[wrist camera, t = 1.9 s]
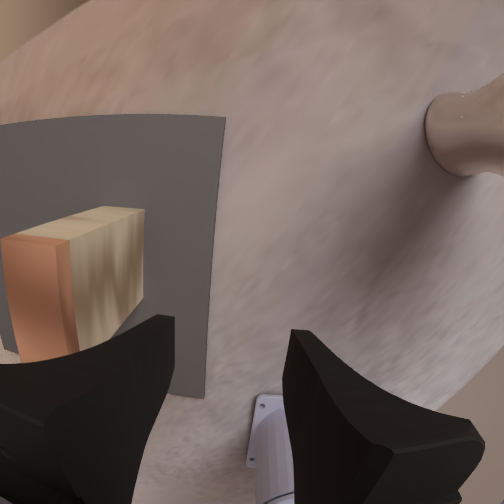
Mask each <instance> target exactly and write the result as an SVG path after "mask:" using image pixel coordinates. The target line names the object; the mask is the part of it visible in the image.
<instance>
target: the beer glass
mask: <svg viewBox="0 0 504 504" xmlns="http://www.w3.org/2000/svg"><path fill="white" fill-rule="evenodd" d="M425 132H426V138H427V142H428V145H429V148H430V150H431V152H432V154H433V156H434V158H435V159H436V160H437V162H438V163H439V164H440V165H441V166H442V167H443V168H444V169H445V170H447V171H448V172H450V173H452V174H454V175H457V176H471V175H476V174H480V173H495V174H498V175H501V176H504V73H503V74H501V75H500V76H498V77H497V78H495V79H494V80H492V81H491V82H489V83H488V84H486V85H484V86H483V87H481V88H479V89H477V90H474V91H470V92H448V93H444V94H442V95H440V96H438V97H437V98H436V99H435V100H434V101H433V102H432V103H431V105H430V106H429V109H428V111H427V114H426V120H425Z"/></svg>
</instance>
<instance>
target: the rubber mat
mask: <svg viewBox="0 0 504 504" xmlns="http://www.w3.org/2000/svg"><path fill="white" fill-rule="evenodd" d="M225 121H226V118H225V117H215V116H198V115H170V114H122V115H95V116H78V117H65V118H54V119H44V120H35V121H27V122H20V123H13V124H6V125H0V335H1V339H2V343H3V347H4V349H7V350H10V351H12V352H15V353H18V354H19V351H18V347H17V343H16V339H15V334H14V330H13V325H12V320H11V315H10V310H9V304H8V298H7V292H6V285H5V278H4V270H3V261H2V251H1V238H4V237H7V236H10V235H12V234H15V233H18V232H21V231H24V230H27V229H30V228H33V227H36V226H39V225H42V224H45V223H48V222H51V221H55V220H58V219H61V218H64V217H67V216H71V215H74V214H77V213H81V212H84V211H88V210H91V209H95V208H98V207H102V206H110V207H123V208H136V209H145V217H144V245H143V299H142V300H141V301H140V303H139V304H138V305H137V306H136V307H135V309H134V310H133V311H132V312H131V314H130V315H129V316H128V317H127V318H126V320H125V321H124V322H123V323H122V325H121V326H120V327H119V328H118V330H117V331H116V332H115V333H114V334H113V336H112V337H111V338H113V337H115V336H118V335H120V334H122V333H124V332H125V331H127V330H129V329H131V328H133V327H135V326H136V325H138V324H140V323H142V322H143V321H145V320H147V319H149V318H151V317H153V316H155V315H157V314H160V315H167V316H174V317H175V368H174V372H173V376H172V379H171V383H170V387H169V390H168V392H167V393H170V394H176V395H182V396H189V397H196V398H203V399H204V396H205V372H206V351H207V332H208V315H209V299H210V284H211V270H212V256H213V244H214V232H215V220H216V209H217V198H218V187H219V177H220V167H221V157H222V148H223V139H224V130H225ZM111 338H110V339H111Z"/></svg>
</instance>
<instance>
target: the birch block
mask: <svg viewBox="0 0 504 504" xmlns="http://www.w3.org/2000/svg"><path fill="white" fill-rule="evenodd" d="M144 217H145V209H136V208H123V207H110V206H102V207H98V208H95V209H91V210H88V211H84V212H81V213H77V214H74V215H71V216H67V217H64V218H61V219H58V220H55V221H51V222H48V223H45V224H42V225H39V226H36V227H33V228H30V229H27V230H24V231H21V232H18V233H15V234H12V235H10V236H7V237H4V238H1V251H2V261H3V270H4V278H5V285H6V292H7V298H8V304H9V310H10V315H11V320H12V325H13V330H14V334H15V339H16V343H17V347H18V351H19V355H20V359H21V362H22V363H29V362H36V361H43V360H48V359H53V358H57V357H61V356H65V355H70V354H73V353H76V352H79V351H82V350H85V349H88V348H91V347H93V346H96V345H98V344H101V343H103V342H105V341H107V340H109V339H110V338H111V337H112V336H113V334H114V333H115V332H116V331H117V330H118V328H119V327H120V326H121V325H122V323H123V322H124V321H125V320H126V318H127V317H128V316H129V315H130V314H131V312H132V311H133V310H134V309H135V307H136V306H137V305H138V304H139V303H140V301H141V300H142V299H143V245H144Z"/></svg>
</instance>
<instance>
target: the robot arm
mask: <svg viewBox="0 0 504 504" xmlns="http://www.w3.org/2000/svg"><path fill="white" fill-rule="evenodd" d="M174 368H175V317H174V316H167V315H160V314H157V315H155V316H153V317H151V318H149V319H147V320H145V321H143V322H142V323H140V324H138V325H136V326H135V327H133V328H131V329H129V330H127V331H125V332H124V333H122V334H120V335H118V336H115V337H113V338H111V339H109V340H107V341H105V342H103V343H101V344H98V345H96V346H93V347H91V348H88V349H85V350H82V351H79V352H76V353H73V354H70V355H65V356H61V357H57V358H53V359H48V360H43V361H36V362H29V363H19V364H0V504H131V502H132V497H133V492H134V488H135V484H136V479H137V475H138V471H139V467H140V463H141V460H142V456H143V452H144V449H145V445H146V442H147V440H148V437H149V434H150V432H151V429H152V427H153V425H154V422H155V420H156V418H157V416H158V413H159V411H160V409H161V406H162V404H163V402H164V399H165V397H166V394H167V392H168V390H169V387H170V383H171V379H172V376H173V372H174ZM282 385H283V395H269V394H260V395H258V396H257V398H256V403H255V410H254V416H253V422H252V428H251V434H250V440H249V446H248V452H247V458H246V467H248V468H256V504H459V503H460V502H461V500H462V497H461V495H460V493H459V492H458V489H459V488H460V487H461V485H462V484H463V483H464V482H465V481H466V480H467V478H468V477H469V476H470V475H471V473H472V472H473V471H474V470H475V468H476V467H477V465H478V463H479V462H480V461H481V458H482V456H483V453H484V450H485V441H484V440H483V439H482V437H481V436H480V434H479V433H478V431H477V430H476V428H475V427H474V425H473V424H472V423H471V421H470V420H469V419H464V418H459V417H454V416H451V415H446V414H442V413H438V412H435V411H432V410H429V409H426V408H423V407H420V406H417V405H415V404H412V403H410V402H407V401H405V400H403V399H401V398H399V397H397V396H395V395H393V394H391V393H389V392H387V391H385V390H383V389H381V388H380V387H378V386H376V385H375V384H373V383H372V382H370V381H368V380H367V379H365V378H364V377H362V376H361V375H360V374H358V373H357V372H356V371H354V370H353V369H352V368H350V367H349V366H348V365H347V364H345V363H344V362H343V361H342V360H341V359H340V358H338V357H337V356H336V355H335V354H334V353H333V352H332V351H331V350H330V349H329V348H328V347H326V346H325V345H324V344H323V343H322V342H321V341H320V340H319V339H318V338H317V337H316V336H315V335H314V334H313V333H312V332H310V331H309V330H295V329H291V335H290V340H289V346H288V351H287V356H286V361H285V367H284V372H283V377H282ZM260 404H264V405H262V406H261V405H260ZM501 504H504V500H503V502H502V503H501Z"/></svg>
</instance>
